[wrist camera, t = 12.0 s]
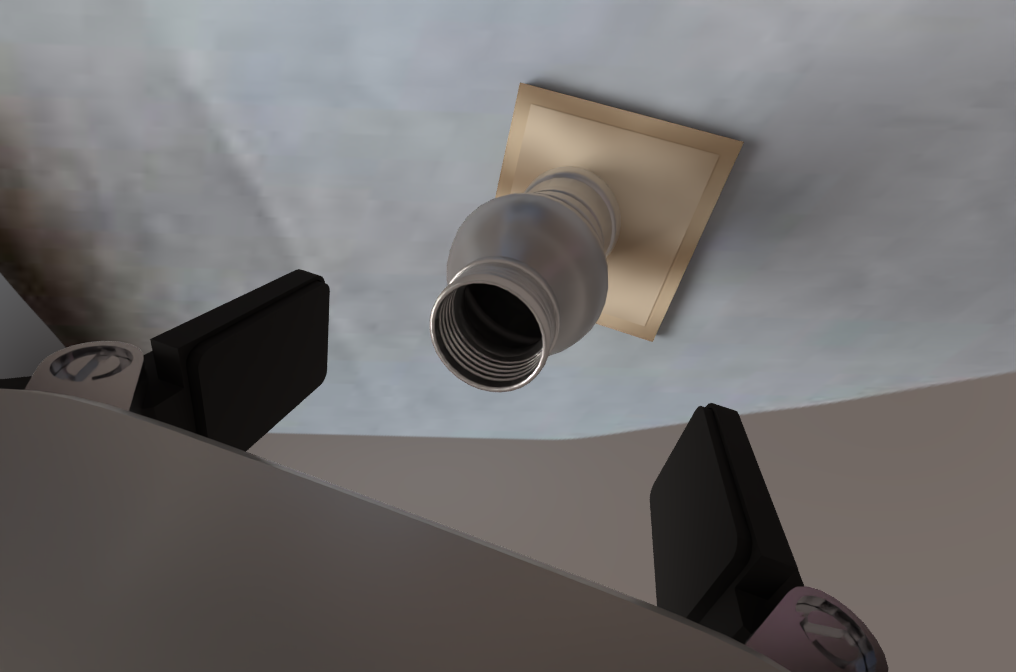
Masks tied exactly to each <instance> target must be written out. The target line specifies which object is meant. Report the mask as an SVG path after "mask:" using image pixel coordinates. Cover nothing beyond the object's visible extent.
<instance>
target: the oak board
mask: <svg viewBox="0 0 1016 672" xmlns="http://www.w3.org/2000/svg"><path fill="white" fill-rule="evenodd" d="M743 143H744V142H742V141H738V140H734V139H730V138H727V137H723V136H719V135H715V134H712V133H708V132H704V131H700V130H697V129H693V128H689V127H685V126H682V125H678V124H674V123H670V122H667V121H663V120H659V119H655V118H652V117H648V116H644V115H640V114H637V113H633V112H629V111H625V110H622V109H618V108H614V107H610V106H607V105H603V104H599V103H595V102H592V101H588V100H584V99H580V98H576V97H573V96H569V95H565V94H561V93H558V92H554V91H550V90H546V89H543V88H539V87H535V86H531V85H528V84H524V83H520V85H519V90H518V95H517V99H516V104H515V109H514V113H513V118H512V122H511V127H510V132H509V136H508V141H507V146H506V150H505V155H504V160H503V164H502V169H501V174H500V178H499V183H498V188H497V192H496V197H495V198H498V197H501V196H505V195H509V194H513V193H524V192H525V190H526V189H527V188H528V186H529V185H530V184H531V183H532V181H533V180H535V179H536V178H537V177H538V176H539V175H541V174H543V173H544V172H546V171H548V170H550V169H554V168H557V167H566V166H572V167H579V168H583V169H585V170H588V171H591V172H592V173H594V174H595V175H597V176H599V177H600V178H601V179H602V180H603V181H604V182H605V183H606V184H607V185H608V186H609V187H610V189H611V190H612V192H613V193H614V195H615V197H616V200H617V202H618V205H619V209H620V214H621V227H620V233H619V237H618V239H617V242H616V244H615V247H614V248H613V250H612V251H611V253H610V254H609V255H608V256H607V258H606V260H607V264H608V292H607V297H606V303H605V306H604V308H603V310H602V313H601V315H600V317H599V319H598V320H597V322H596V324H599V325H602V326H606V327H609V328H612V329H615V330H618V331H621V332H624V333H627V334H630V335H633V336H636V337H639V338H642V339H645V340H648V341H651V342H653V340H654V338H655V335H656V333H657V331H658V329H659V327H660V325H661V322H662V320H663V318H664V316H665V314H666V311H667V309H668V307H669V305H670V303H671V300H672V298H673V296H674V294H675V292H676V290H677V287H678V285H679V283H680V281H681V279H682V276H683V274H684V272H685V270H686V268H687V265H688V263H689V261H690V259H691V257H692V255H693V252H694V250H695V248H696V246H697V244H698V241H699V239H700V237H701V235H702V233H703V230H704V228H705V226H706V224H707V222H708V220H709V217H710V215H711V213H712V211H713V209H714V206H715V204H716V202H717V200H718V198H719V195H720V193H721V191H722V189H723V187H724V185H725V182H726V180H727V178H728V176H729V174H730V171H731V169H732V167H733V165H734V163H735V160H736V158H737V156H738V154H739V152H740V150H741V147H742V145H743Z"/></svg>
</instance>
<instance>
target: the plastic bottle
mask: <svg viewBox="0 0 1016 672" xmlns="http://www.w3.org/2000/svg"><path fill="white" fill-rule="evenodd" d="M620 227H621V214H620V209H619V205H618V202H617V200H616V197H615V195H614V193H613V192H612V190H611V189H610V187H609V186H608V185H607V184H606V183H605V182H604V181H603V180H602V179H601V178H600V177H599V176H597V175H595V174H594V173H592V172H591V171H588V170H585V169H583V168H579V167H572V166H566V167H557V168H554V169H550V170H548V171H546V172H544V173H543V174H541V175H539V176H538V177H537V178H536V179H535V180H533V181H532V183H531V184H530V185H529V186H528V188H527V189H526V190H525V192H524V193H513V194H509V195H505V196H501V197H498V198H494V199H492V200H490V201H488V202H486V203H484V204H483V205H481V206H479V207H478V208H477V209H476V210H474V211H473V212H472V213H471V214H470V215H469V216H468V217H467V218H466V219H465V221H464V222H463V223H462V225H461V226H460V227H459V229H458V231H457V233H456V236H455V238H454V240H453V242H452V246H451V249H450V252H449V257H448V262H447V284H448V286H447V287H446V288H445V289H444V290H443V291H442V293H441V294H440V295H439V296H438V298H437V300H436V302H435V304H434V307H433V309H432V312H431V317H430V334H431V339H432V343H433V345H434V348H435V350H436V353H437V354H438V356H439V358H440V359H441V361H442V362H443V363H444V365H445V366H446V367H447V368H448V369H449V371H451V372H452V373H453V374H454V375H455V376H456V377H457V378H459V379H460V380H462V381H464V382H465V383H467V384H468V385H471V386H473V387H475V388H478V389H481V390H485V391H490V392H507V391H512V390H516V389H519V388H521V387H523V386H525V385H526V384H528V383H530V382H531V381H532V380H533V379H534V378H535V377H536V376H537V375H538V374H539V373H540V371H541V370H542V368H543V367H544V365H545V363H546V360H547V358H548V356H550V355H553V354H556V353H559V352H562V351H563V350H565V349H567V348H568V347H570V346H572V345H573V344H575V343H576V342H578V341H579V340H580V339H582V338H583V337H584V336H585V335H586V334H587V333H588V332H589V331H590V330H591V329H592V328H593V326H594V325H595V323H596V322H597V320H598V319H599V317H600V315H601V313H602V310H603V308H604V306H605V303H606V297H607V292H608V264H607V260H606V258H607V256H608V255H609V254H610V253H611V251H612V250H613V248H614V247H615V244H616V242H617V239H618V237H619V233H620Z"/></svg>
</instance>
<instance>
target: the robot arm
mask: <svg viewBox="0 0 1016 672" xmlns="http://www.w3.org/2000/svg"><path fill="white" fill-rule="evenodd" d="M329 295H330V290H329V286H328V285H327V284H325V281H324V278H323V277H322V276H319V275H316V274H313V273H310V272H307V271H304V270H300V269H298V270H295V271H293V272H291V273H289V274H287V275H284V276H282V277H280V278H278V279H276V280H274V281H272V282H270V283H268V284H265V285H263V286H261V287H259V288H257V289H255V290H253V291H251V292H249V293H247V294H244V295H242V296H240V297H238V298H236V299H234V300H232V301H230V302H228V303H225V304H223V305H221V306H219V307H217V308H215V309H213V310H211V311H209V312H207V313H204V314H202V315H200V316H198V317H196V318H194V319H192V320H190V321H188V322H185V323H183V324H181V325H179V326H177V327H175V328H173V329H171V330H169V331H167V332H164V333H162V334H160V335H158V336H156V337H154V338H152V339H150V340H151V345H152V350H153V351H151V352H149V353H147V354H145V355H143V352H142V351H141V350H140V349H139V348H138V347H136V346H133V345H131V344H128V343H123V342H117V341H98V342H89V343H83V344H79V345H74V346H70V347H68V348H65V349H62V350H59V351H57V352H55V353H53V354H52V355H50V356H48V357H46V358H45V359H44V360H43V361H42V362H41V363H40V364H39V365H38V367H37V369H36V371H35V372H34V374H33V376H30V377H21V378H11V379H10V378H9V379H0V672H888V665H887V661H886V658H885V654H884V652H883V650H882V649H881V647H880V645H879V643H878V641H877V639H876V638H875V637H874V635H873V634H872V633H871V632H870V630H869V629H868V628H867V626H866V625H865V624H864V622H862V620H860V619H859V618H858V617H857V616H856V615H855V614H854V613H853V612H852V611H851V610H850V609H849V608H847V607H846V606H845V605H843V604H842V603H841V602H840V601H838V600H837V599H835V598H834V597H832V596H830V595H828V594H826V593H825V592H823V591H821V590H818V589H814V588H811V587H806V586H804V584H803V582H802V579H801V576H800V574H799V571H798V567H797V565H796V562H795V560H794V557H793V554H792V552H791V549H790V547H789V544H788V541H787V539H786V536H785V533H784V531H783V529H782V526H781V523H780V520H779V518H778V515H777V513H776V510H775V508H774V505H773V502H772V500H771V497H770V494H769V492H768V489H767V487H766V484H765V481H764V479H763V476H762V474H761V471H760V469H759V466H758V463H757V461H756V458H755V456H754V453H753V450H752V448H751V445H750V443H749V440H748V437H747V435H746V432H745V429H744V427H743V424H742V422H741V419H740V416H739V414H738V412H737V411H735V410H732V409H729V408H726V407H722V406H719V405H716V404H713V403H710V404H708V405H707V406H706V407H702V406H699V407H698V408H697V409H696V410H695V412H694V414H693V416H692V417H691V419H690V421H689V423H688V424H687V426H686V428H685V430H684V432H683V433H682V435H681V437H680V439H679V440H678V442H677V444H676V446H675V448H674V449H673V451H672V453H671V454H670V456H669V458H668V460H667V462H666V463H665V465H664V467H663V469H662V470H661V472H660V474H659V476H658V477H657V479H656V481H655V483H654V485H653V487H652V490H651V494H650V509H651V524H652V539H653V553H654V567H655V582H656V597H657V606H654V605H652V604H649V603H647V602H645V601H642V600H639V599H637V598H634V597H632V596H629V595H627V594H624V593H622V592H619V591H617V590H614V589H611V588H609V587H606V586H604V585H601V584H599V583H596V582H593V581H591V580H588V579H586V578H583V577H580V576H578V575H575V574H573V573H570V572H567V571H565V570H562V569H559V568H556V567H554V566H551V565H548V564H546V563H543V562H541V561H538V560H536V559H533V558H530V557H527V556H525V555H522V554H520V553H517V552H514V551H512V550H509V549H507V548H504V547H501V546H499V545H496V544H493V543H491V542H488V541H485V540H483V539H480V538H477V537H474V536H472V535H469V534H467V533H464V532H462V531H459V530H456V529H453V528H451V527H448V526H445V525H443V524H440V523H437V522H435V521H432V520H429V519H427V518H424V517H421V516H419V515H416V514H413V513H411V512H408V511H405V510H403V509H400V508H397V507H395V506H392V505H389V504H386V503H383V502H381V501H378V500H376V499H373V498H370V497H368V496H365V495H362V494H360V493H357V492H354V491H351V490H349V489H346V488H343V487H341V486H338V485H335V484H332V483H330V482H327V481H324V480H321V479H319V478H316V477H313V476H311V475H308V474H305V473H302V472H300V471H297V470H294V469H292V468H289V467H286V466H283V465H281V464H278V463H275V462H272V461H270V460H267V459H264V458H262V457H259V456H256V455H253V454H251V453H248V452H246V451H247V450H248V449H249V448H250V447H251V446H252V445H254V443H256V442H257V441H258V440H259V439H260V438H262V436H264V435H265V434H266V433H267V432H268V431H269V430H271V429H272V428H273V427H274V426H275V425H276V424H277V423H278V422H279V421H281V420H282V419H283V418H284V417H285V416H286V415H287V414H288V413H290V412H291V411H292V410H293V409H294V408H295V407H296V406H297V405H299V404H300V403H301V402H302V401H303V400H304V399H305V398H306V397H307V396H309V395H310V394H311V393H312V392H313V391H314V390H315V389H316V388H318V387H319V386H320V385H321V384H322V382H323V381H324V379H325V377H326V374H327V355H328V325H329Z"/></svg>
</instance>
